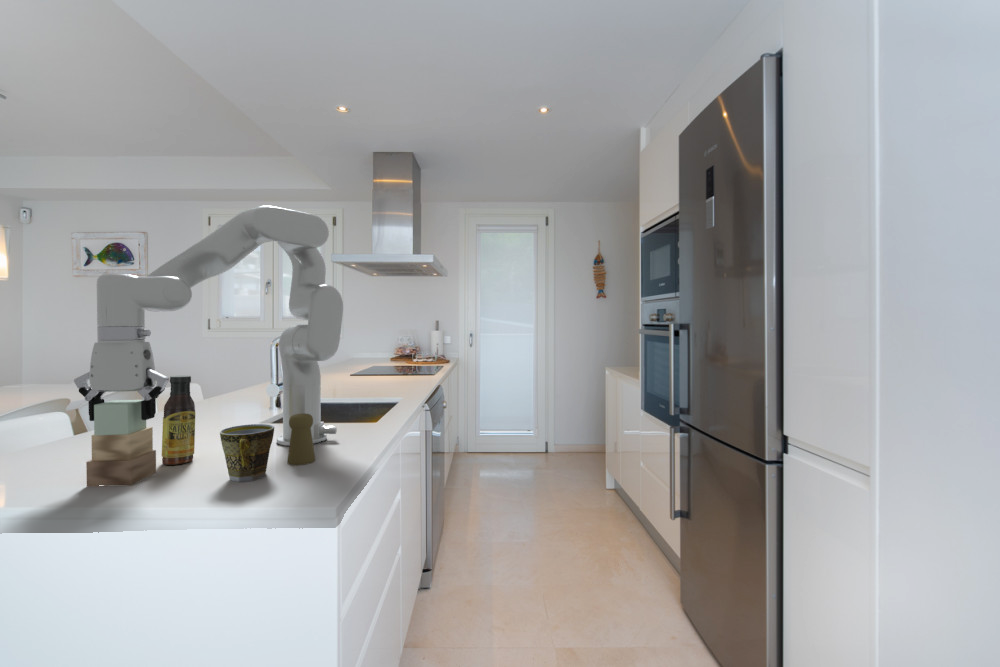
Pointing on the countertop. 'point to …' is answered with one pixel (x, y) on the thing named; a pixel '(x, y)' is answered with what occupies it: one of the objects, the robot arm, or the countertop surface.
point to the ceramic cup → (247, 450)
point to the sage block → (118, 417)
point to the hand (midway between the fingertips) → (122, 419)
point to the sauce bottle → (178, 423)
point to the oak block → (122, 445)
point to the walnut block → (121, 470)
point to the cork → (301, 440)
